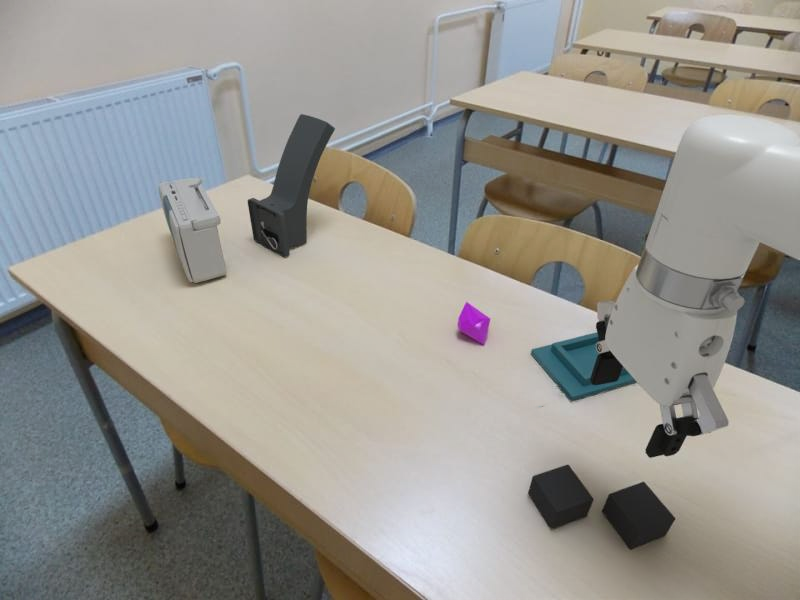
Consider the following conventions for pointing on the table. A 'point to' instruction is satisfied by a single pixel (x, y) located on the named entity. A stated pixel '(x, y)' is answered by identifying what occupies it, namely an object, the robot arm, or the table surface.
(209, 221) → the radio
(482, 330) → the crystal
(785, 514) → the table surface
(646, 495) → the black block
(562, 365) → the dock
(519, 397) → the table surface
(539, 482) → the black square block
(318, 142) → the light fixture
